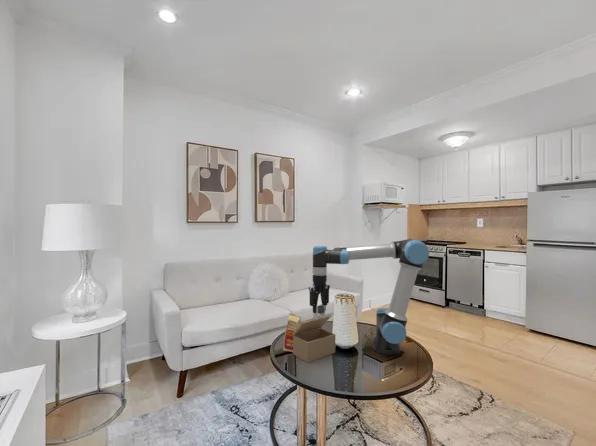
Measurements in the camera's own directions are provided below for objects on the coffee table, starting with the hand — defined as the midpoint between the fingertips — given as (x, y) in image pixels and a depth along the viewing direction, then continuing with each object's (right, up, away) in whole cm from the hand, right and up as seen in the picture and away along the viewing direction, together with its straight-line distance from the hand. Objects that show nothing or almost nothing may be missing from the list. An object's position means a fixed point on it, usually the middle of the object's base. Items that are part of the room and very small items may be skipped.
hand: (319, 317), depth 156 cm
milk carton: (-14, -20, +9) cm, 26 cm away
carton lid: (-2, -3, +2) cm, 4 cm away
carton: (-3, -20, +3) cm, 21 cm away
